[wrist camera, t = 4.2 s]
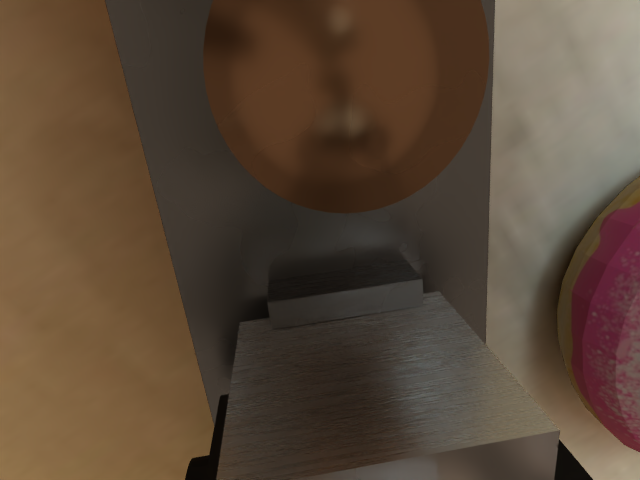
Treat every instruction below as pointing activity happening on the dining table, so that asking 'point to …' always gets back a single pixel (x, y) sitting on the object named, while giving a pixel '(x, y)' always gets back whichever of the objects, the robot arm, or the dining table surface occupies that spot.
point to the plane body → (313, 157)
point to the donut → (606, 317)
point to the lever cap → (380, 403)
